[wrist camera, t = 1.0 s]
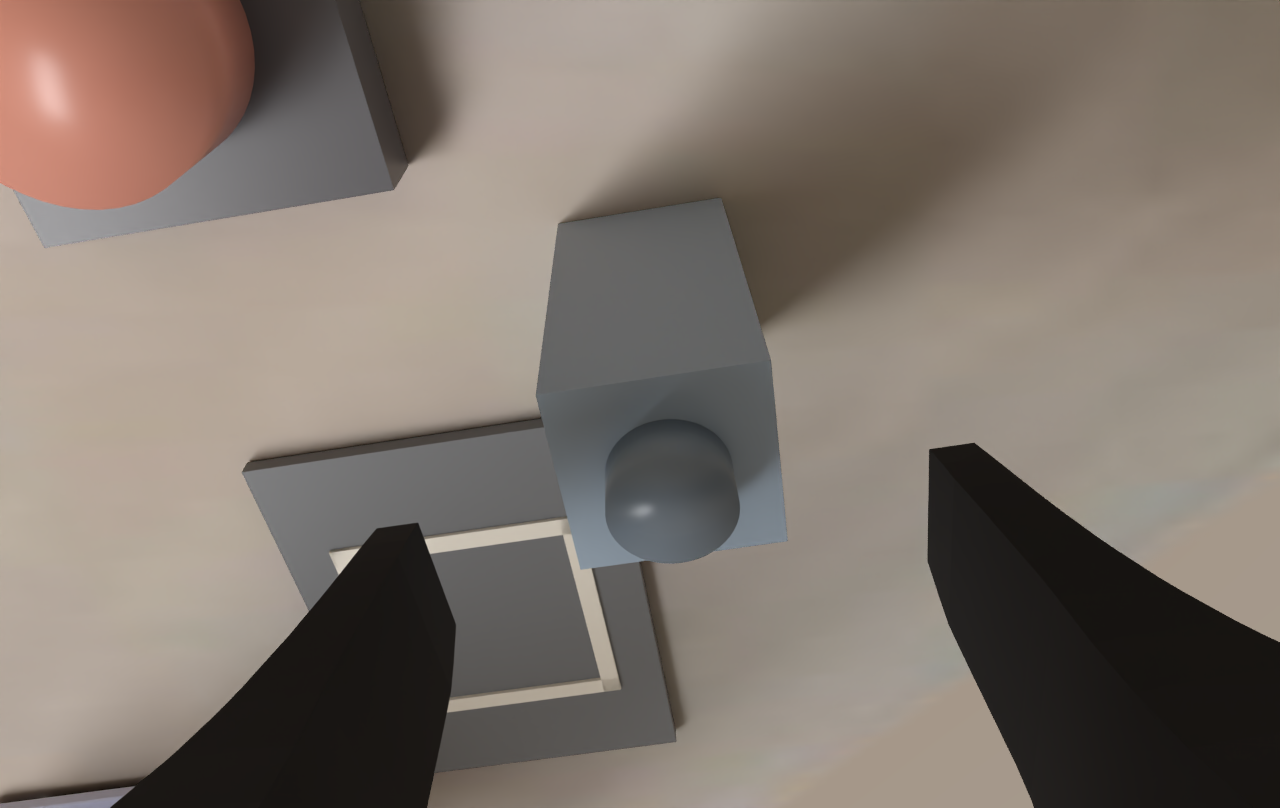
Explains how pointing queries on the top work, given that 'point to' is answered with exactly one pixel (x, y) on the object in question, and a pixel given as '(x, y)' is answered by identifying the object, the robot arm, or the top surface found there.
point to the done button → (117, 94)
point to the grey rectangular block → (658, 389)
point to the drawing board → (487, 587)
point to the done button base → (273, 132)
